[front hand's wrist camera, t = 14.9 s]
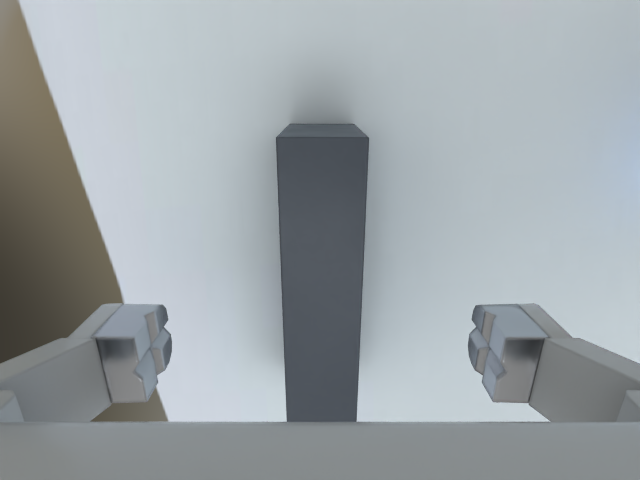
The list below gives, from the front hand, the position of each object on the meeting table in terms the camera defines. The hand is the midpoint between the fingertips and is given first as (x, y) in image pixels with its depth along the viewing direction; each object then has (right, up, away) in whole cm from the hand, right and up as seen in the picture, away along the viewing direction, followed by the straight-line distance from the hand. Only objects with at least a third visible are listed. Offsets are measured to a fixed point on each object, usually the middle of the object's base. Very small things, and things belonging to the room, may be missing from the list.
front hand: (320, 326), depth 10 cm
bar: (0, 0, +24) cm, 24 cm away
